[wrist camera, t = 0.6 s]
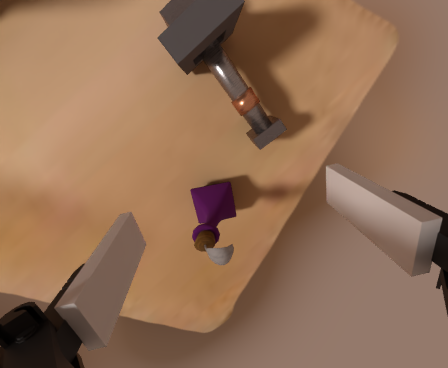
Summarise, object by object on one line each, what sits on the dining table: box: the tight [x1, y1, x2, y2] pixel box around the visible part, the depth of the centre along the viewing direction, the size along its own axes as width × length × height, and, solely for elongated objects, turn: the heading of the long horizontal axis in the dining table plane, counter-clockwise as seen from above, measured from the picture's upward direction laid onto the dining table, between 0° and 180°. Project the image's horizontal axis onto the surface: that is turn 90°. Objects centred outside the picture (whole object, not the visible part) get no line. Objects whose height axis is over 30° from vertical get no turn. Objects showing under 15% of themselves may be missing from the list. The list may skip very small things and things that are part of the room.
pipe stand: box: [160, 0, 287, 150], centre depth 32 cm, size 22×5×7 cm, turn 38°
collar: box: [158, 0, 245, 75], centre depth 27 cm, size 3×9×12 cm, turn 128°
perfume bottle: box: [190, 182, 236, 265], centre depth 35 cm, size 8×8×18 cm
